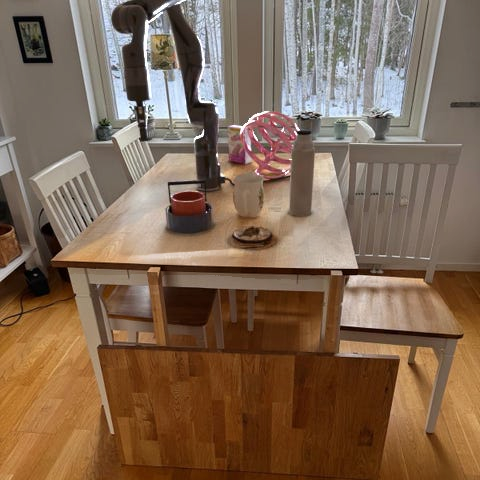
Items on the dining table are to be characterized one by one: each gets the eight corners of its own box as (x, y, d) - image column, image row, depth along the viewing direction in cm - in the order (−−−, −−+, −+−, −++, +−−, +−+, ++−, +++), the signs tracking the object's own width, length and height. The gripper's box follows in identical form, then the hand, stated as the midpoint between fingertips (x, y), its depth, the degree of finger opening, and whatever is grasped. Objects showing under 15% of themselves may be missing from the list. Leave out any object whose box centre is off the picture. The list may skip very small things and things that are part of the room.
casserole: (202, 215, 170) (201, 198, 166) (220, 229, 158) (219, 211, 154) (161, 223, 164) (159, 205, 161) (176, 238, 152) (174, 219, 149)
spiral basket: (255, 141, 182) (291, 91, 188) (214, 147, 204) (248, 103, 210) (292, 192, 199) (324, 145, 205) (251, 193, 220) (281, 150, 226)
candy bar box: (228, 161, 235) (226, 126, 226) (234, 159, 238) (233, 124, 229) (245, 164, 229) (244, 128, 220) (251, 162, 232) (251, 127, 223)
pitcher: (228, 224, 162) (227, 184, 154) (237, 207, 177) (236, 170, 169) (260, 226, 160) (260, 185, 153) (266, 208, 175) (267, 170, 168)
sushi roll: (244, 253, 141) (243, 240, 139) (221, 237, 152) (220, 225, 150) (285, 242, 147) (285, 230, 145) (260, 228, 158) (260, 216, 156)
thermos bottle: (292, 207, 175) (295, 127, 160) (313, 209, 173) (318, 128, 158) (286, 215, 169) (289, 132, 153) (308, 217, 166) (313, 133, 151)
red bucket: (172, 220, 165) (167, 176, 157) (206, 218, 166) (204, 174, 158) (172, 232, 155) (167, 186, 147) (209, 229, 157) (206, 184, 148)
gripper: (150, 85, 140) (156, 142, 148) (149, 80, 151) (155, 133, 160) (124, 86, 139) (132, 143, 147) (125, 81, 150) (133, 134, 159)
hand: (144, 138), depth 154 cm, fingers open, 8 cm apart
